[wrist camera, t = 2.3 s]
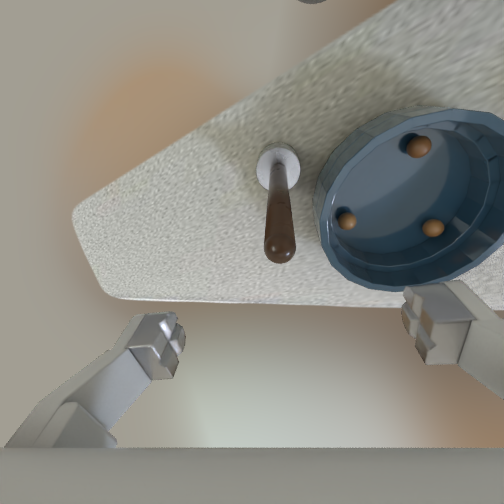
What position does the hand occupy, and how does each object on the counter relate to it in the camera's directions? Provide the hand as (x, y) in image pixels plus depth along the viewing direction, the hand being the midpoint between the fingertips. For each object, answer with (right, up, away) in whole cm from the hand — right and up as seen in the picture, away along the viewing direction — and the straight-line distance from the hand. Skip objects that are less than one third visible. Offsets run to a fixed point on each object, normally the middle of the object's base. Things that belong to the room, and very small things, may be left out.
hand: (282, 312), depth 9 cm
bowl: (+15, +8, +19) cm, 26 cm away
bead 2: (+15, +12, +15) cm, 24 cm away
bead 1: (+10, +6, +20) cm, 23 cm away
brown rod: (+2, +12, +18) cm, 22 cm away
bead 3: (+19, +5, +19) cm, 28 cm away
